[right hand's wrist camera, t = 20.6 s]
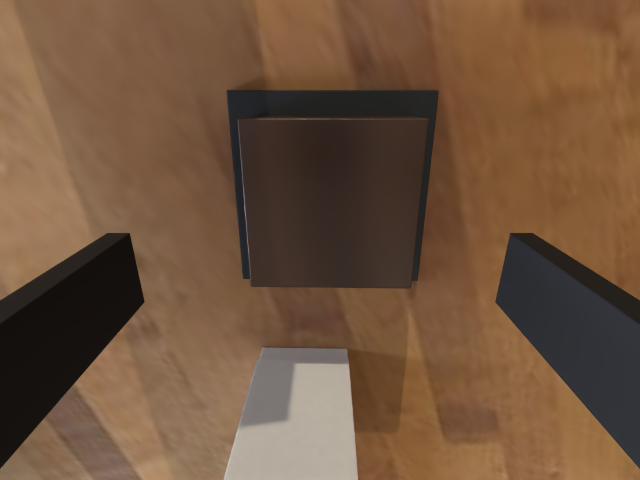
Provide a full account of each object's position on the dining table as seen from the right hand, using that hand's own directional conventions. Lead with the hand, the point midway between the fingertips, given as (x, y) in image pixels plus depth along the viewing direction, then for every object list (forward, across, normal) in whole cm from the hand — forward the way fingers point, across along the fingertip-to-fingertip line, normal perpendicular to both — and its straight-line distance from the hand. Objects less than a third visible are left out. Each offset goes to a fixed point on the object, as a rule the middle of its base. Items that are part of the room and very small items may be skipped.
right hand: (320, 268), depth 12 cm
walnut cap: (+12, +1, 0) cm, 12 cm away
